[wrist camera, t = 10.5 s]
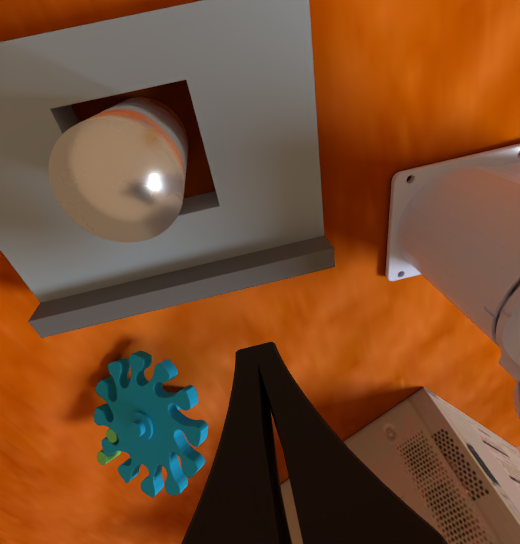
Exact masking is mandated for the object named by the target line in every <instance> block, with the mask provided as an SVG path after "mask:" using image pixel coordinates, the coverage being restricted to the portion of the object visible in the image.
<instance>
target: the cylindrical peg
mask: <svg viewBox="0 0 520 544" xmlns="http://www.w3.org/2000/svg"><path fill="white" fill-rule="evenodd" d="M188 150H189V143H188V136H187V132H186V130H185V127H184V125H183V123H182V122H181V120H180V119H179V117H178V116H177V115H176V114H175V113H174V112H173V111H172V110H171V109H170V108H169V107H167V106H166V105H165V104H163V103H161V102H159V101H157V100H154V99H151V98H145V97H135V98H130V99H127V100H125V101H123V102H121V103H119V104H117V105H115V106H113V107H111V108H108V109H106V110H104V111H102V112H100V113H98V114H96V115H94V116H92V117H90V118H88V119H86V120H84V121H82V122H80V123H78V124H76V125H74V126H72V127H71V128H69V129H68V130H67V131H65V132H64V133H63V134H62V135H61V136H60V137H59V139H58V140H57V142H56V143H55V145H54V147H53V149H52V151H51V154H50V158H49V166H48V173H49V181H50V185H51V188H52V191H53V194H54V196H55V198H56V200H57V202H58V203H59V205H60V206H61V208H62V209H63V210H64V212H65V213H66V214H67V215H68V216H69V217H70V218H71V219H72V220H73V221H74V222H75V223H76V224H78V225H79V226H80V227H82V228H83V229H85V230H86V231H88V232H90V233H92V234H94V235H96V236H98V237H101V238H104V239H107V240H111V241H115V242H124V243H132V242H141V241H145V240H148V239H152V238H154V237H156V236H158V235H160V234H161V233H163V232H164V231H165V230H167V229H168V228H169V227H170V226H171V225H172V223H173V222H174V221H175V219H176V218H177V216H178V214H179V212H180V210H181V206H182V203H183V196H184V187H185V178H186V169H187V159H188Z"/></svg>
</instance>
